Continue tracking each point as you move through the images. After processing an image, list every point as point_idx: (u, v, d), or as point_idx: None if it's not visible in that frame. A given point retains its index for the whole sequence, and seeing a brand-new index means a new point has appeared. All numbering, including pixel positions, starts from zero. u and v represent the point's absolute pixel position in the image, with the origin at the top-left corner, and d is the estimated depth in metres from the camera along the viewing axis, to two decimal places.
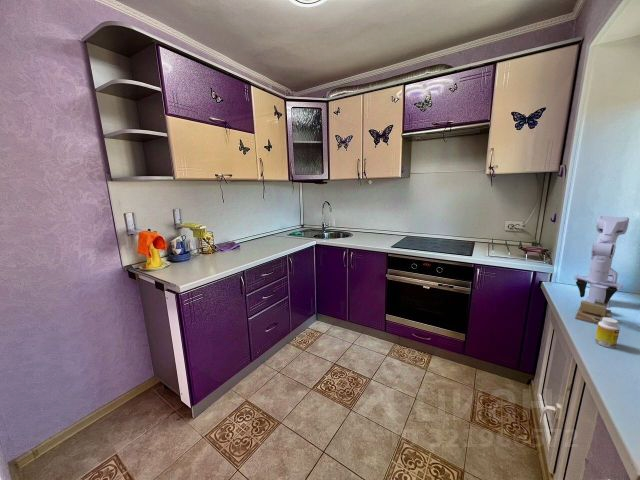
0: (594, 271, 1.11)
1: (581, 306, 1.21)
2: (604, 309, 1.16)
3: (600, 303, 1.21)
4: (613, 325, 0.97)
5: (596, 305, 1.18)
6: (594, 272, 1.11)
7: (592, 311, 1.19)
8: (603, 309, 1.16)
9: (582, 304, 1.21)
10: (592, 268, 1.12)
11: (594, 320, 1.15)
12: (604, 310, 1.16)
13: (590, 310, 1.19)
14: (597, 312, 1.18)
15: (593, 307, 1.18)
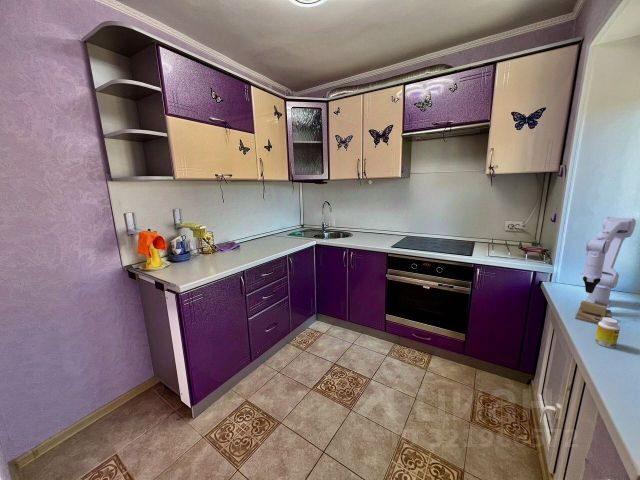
0: None
1: (581, 306, 1.21)
2: (604, 309, 1.16)
3: (600, 303, 1.21)
4: (613, 325, 0.97)
5: (596, 305, 1.18)
6: None
7: (592, 311, 1.19)
8: (603, 309, 1.16)
9: (582, 304, 1.21)
10: (586, 262, 1.22)
11: (594, 320, 1.15)
12: (604, 310, 1.16)
13: (590, 310, 1.19)
14: (597, 312, 1.18)
15: (593, 307, 1.18)
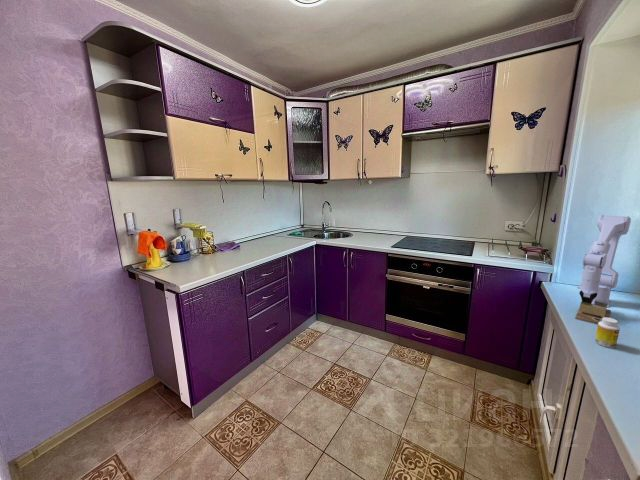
0: None
1: (581, 307, 1.20)
2: (604, 310, 1.15)
3: (600, 303, 1.21)
4: (613, 325, 0.97)
5: (596, 306, 1.17)
6: None
7: (592, 312, 1.18)
8: (603, 310, 1.15)
9: (582, 305, 1.20)
10: (583, 277, 1.20)
11: (594, 320, 1.15)
12: (604, 311, 1.15)
13: (590, 311, 1.18)
14: (597, 313, 1.17)
15: (593, 308, 1.17)
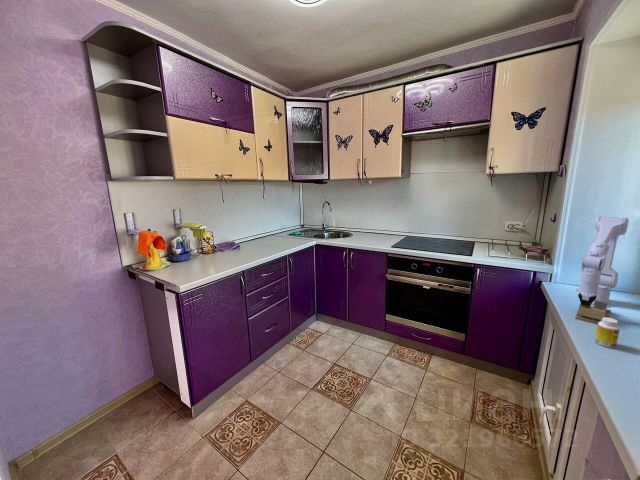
0: None
1: (579, 310, 1.18)
2: (603, 313, 1.12)
3: (600, 303, 1.21)
4: (613, 325, 0.97)
5: (595, 309, 1.15)
6: None
7: (591, 315, 1.15)
8: (602, 313, 1.12)
9: (580, 308, 1.17)
10: (582, 280, 1.17)
11: (594, 320, 1.15)
12: (603, 314, 1.12)
13: (588, 314, 1.16)
14: (596, 316, 1.14)
15: (592, 311, 1.15)
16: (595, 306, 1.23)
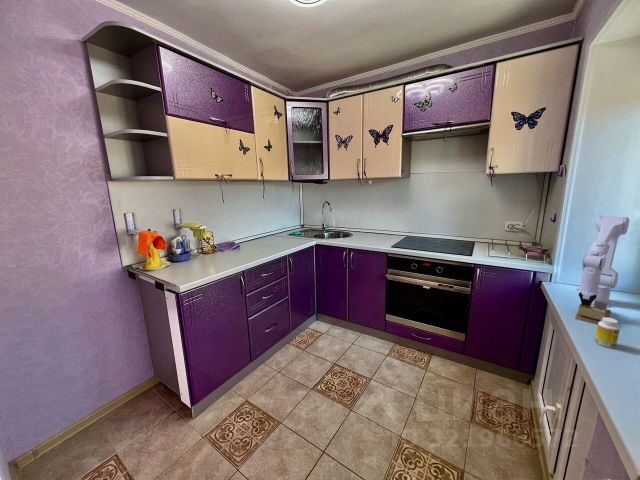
0: None
1: (579, 310, 1.18)
2: (603, 313, 1.12)
3: (600, 303, 1.21)
4: (613, 325, 0.97)
5: (595, 309, 1.15)
6: None
7: (591, 315, 1.15)
8: (602, 313, 1.12)
9: (580, 308, 1.17)
10: (583, 279, 1.18)
11: (594, 320, 1.15)
12: (603, 314, 1.12)
13: (588, 314, 1.16)
14: (596, 316, 1.14)
15: (592, 311, 1.15)
16: (595, 306, 1.23)
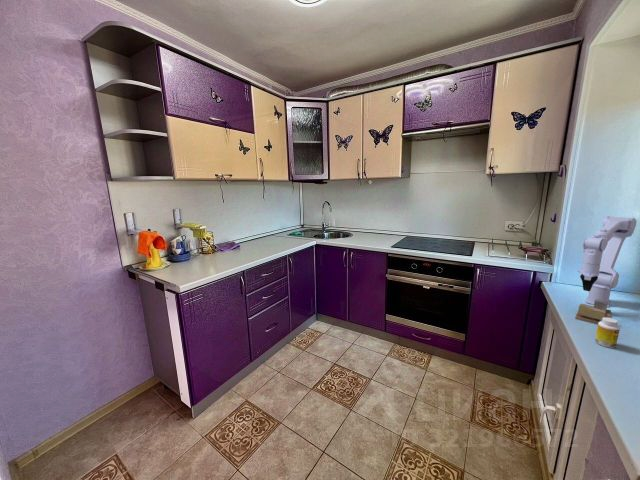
0: None
1: (579, 310, 1.18)
2: (603, 313, 1.12)
3: (600, 303, 1.21)
4: (613, 325, 0.97)
5: (595, 309, 1.15)
6: None
7: (591, 315, 1.15)
8: (602, 313, 1.12)
9: (580, 308, 1.17)
10: (584, 260, 1.21)
11: (594, 320, 1.15)
12: (603, 314, 1.12)
13: (588, 314, 1.16)
14: (596, 316, 1.14)
15: (592, 311, 1.15)
16: (595, 306, 1.23)
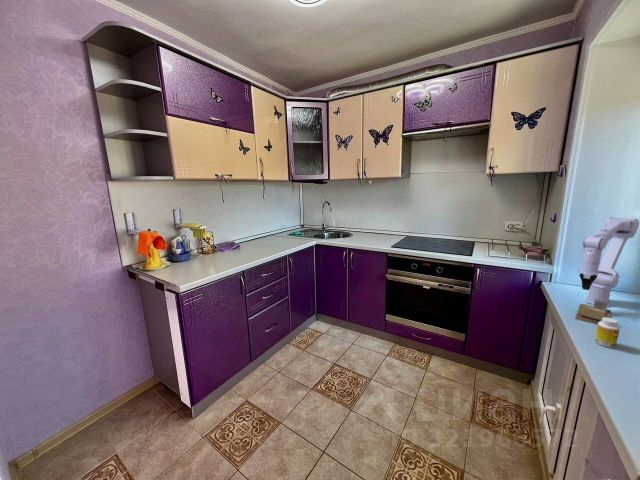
0: None
1: (579, 310, 1.18)
2: (603, 313, 1.12)
3: (600, 303, 1.21)
4: (613, 325, 0.97)
5: (595, 309, 1.15)
6: None
7: (591, 315, 1.15)
8: (602, 313, 1.12)
9: (580, 308, 1.17)
10: (583, 259, 1.23)
11: (594, 320, 1.15)
12: (603, 314, 1.12)
13: (588, 314, 1.16)
14: (596, 316, 1.14)
15: (592, 311, 1.15)
16: (595, 306, 1.23)
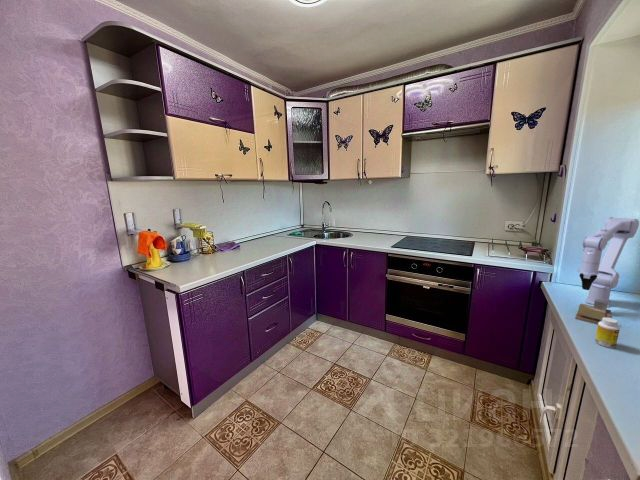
0: None
1: (579, 310, 1.18)
2: (603, 313, 1.12)
3: (600, 303, 1.21)
4: (613, 325, 0.97)
5: (595, 309, 1.15)
6: None
7: (591, 315, 1.15)
8: (602, 313, 1.12)
9: (580, 308, 1.17)
10: (583, 259, 1.23)
11: (594, 320, 1.15)
12: (603, 314, 1.12)
13: (588, 314, 1.16)
14: (596, 316, 1.14)
15: (592, 311, 1.15)
16: (595, 306, 1.23)
